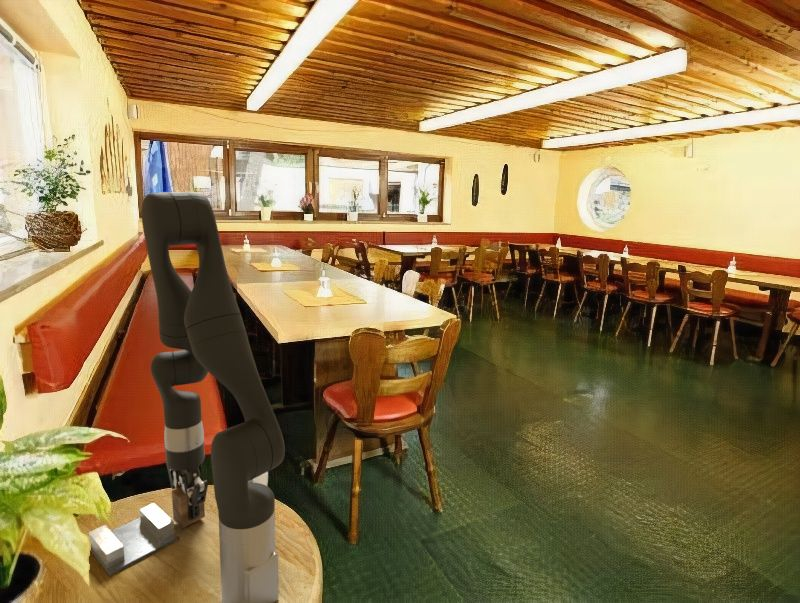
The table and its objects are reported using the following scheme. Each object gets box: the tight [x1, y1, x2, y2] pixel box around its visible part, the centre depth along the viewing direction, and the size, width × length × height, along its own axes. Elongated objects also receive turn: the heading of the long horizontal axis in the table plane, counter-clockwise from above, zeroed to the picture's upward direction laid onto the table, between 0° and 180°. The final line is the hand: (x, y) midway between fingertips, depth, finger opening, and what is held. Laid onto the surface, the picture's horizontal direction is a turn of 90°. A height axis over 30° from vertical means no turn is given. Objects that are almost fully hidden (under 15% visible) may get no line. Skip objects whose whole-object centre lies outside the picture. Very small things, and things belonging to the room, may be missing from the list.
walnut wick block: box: [171, 486, 206, 529], centre depth 101 cm, size 4×5×7 cm
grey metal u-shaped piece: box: [88, 502, 180, 577], centre depth 95 cm, size 12×13×4 cm
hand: (188, 512), depth 102 cm, fingers closed on walnut wick block, 4 cm apart
